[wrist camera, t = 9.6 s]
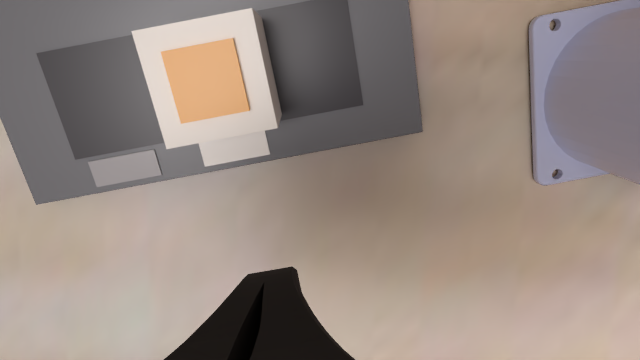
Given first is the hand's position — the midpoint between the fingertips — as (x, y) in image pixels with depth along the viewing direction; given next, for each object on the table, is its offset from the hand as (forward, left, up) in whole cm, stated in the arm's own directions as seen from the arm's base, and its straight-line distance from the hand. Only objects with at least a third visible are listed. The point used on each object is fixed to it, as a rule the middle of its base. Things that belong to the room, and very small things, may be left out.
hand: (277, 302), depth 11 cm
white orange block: (+1, -6, -8) cm, 10 cm away
